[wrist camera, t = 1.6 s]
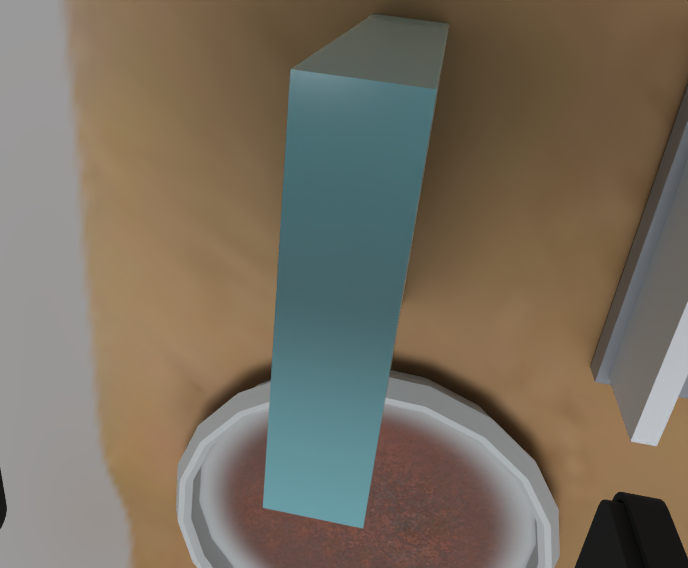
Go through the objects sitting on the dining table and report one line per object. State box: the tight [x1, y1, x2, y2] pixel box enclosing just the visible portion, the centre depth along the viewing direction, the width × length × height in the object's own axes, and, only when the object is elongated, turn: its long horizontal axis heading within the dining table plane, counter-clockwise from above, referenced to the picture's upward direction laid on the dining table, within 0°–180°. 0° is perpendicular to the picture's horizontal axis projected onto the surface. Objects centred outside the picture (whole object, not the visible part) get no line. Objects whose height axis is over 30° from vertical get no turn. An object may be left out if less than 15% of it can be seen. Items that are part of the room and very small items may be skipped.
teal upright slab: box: [263, 14, 450, 528], centre depth 18 cm, size 10×2×11 cm, turn 174°
